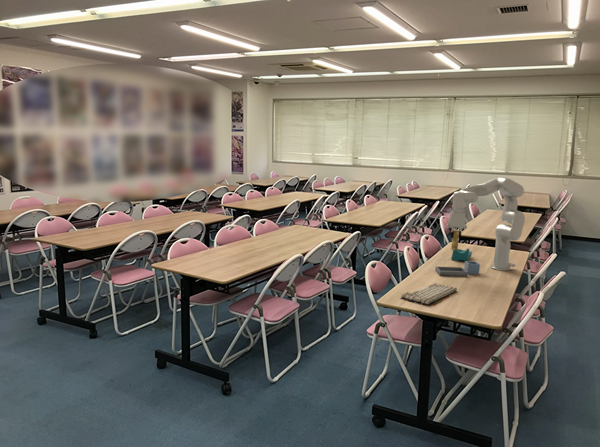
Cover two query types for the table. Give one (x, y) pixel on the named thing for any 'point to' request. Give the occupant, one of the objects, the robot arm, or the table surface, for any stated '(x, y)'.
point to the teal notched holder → (461, 255)
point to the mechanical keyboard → (430, 294)
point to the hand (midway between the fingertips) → (455, 237)
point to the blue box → (472, 267)
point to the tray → (451, 271)
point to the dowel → (455, 240)
